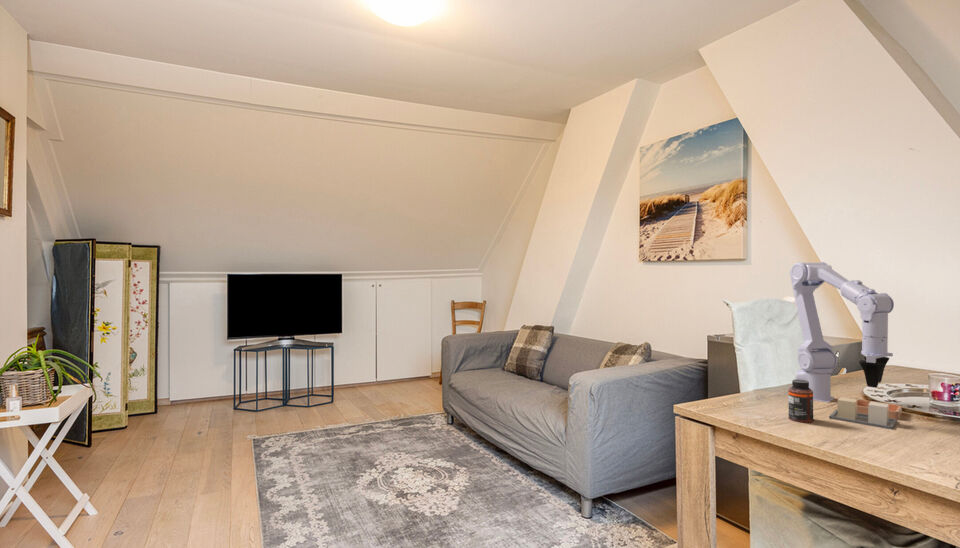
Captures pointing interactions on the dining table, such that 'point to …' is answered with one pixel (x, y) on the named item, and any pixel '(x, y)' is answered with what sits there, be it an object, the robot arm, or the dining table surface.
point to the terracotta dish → (893, 409)
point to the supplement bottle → (800, 402)
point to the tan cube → (847, 408)
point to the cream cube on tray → (878, 413)
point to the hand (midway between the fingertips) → (874, 384)
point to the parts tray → (864, 420)
